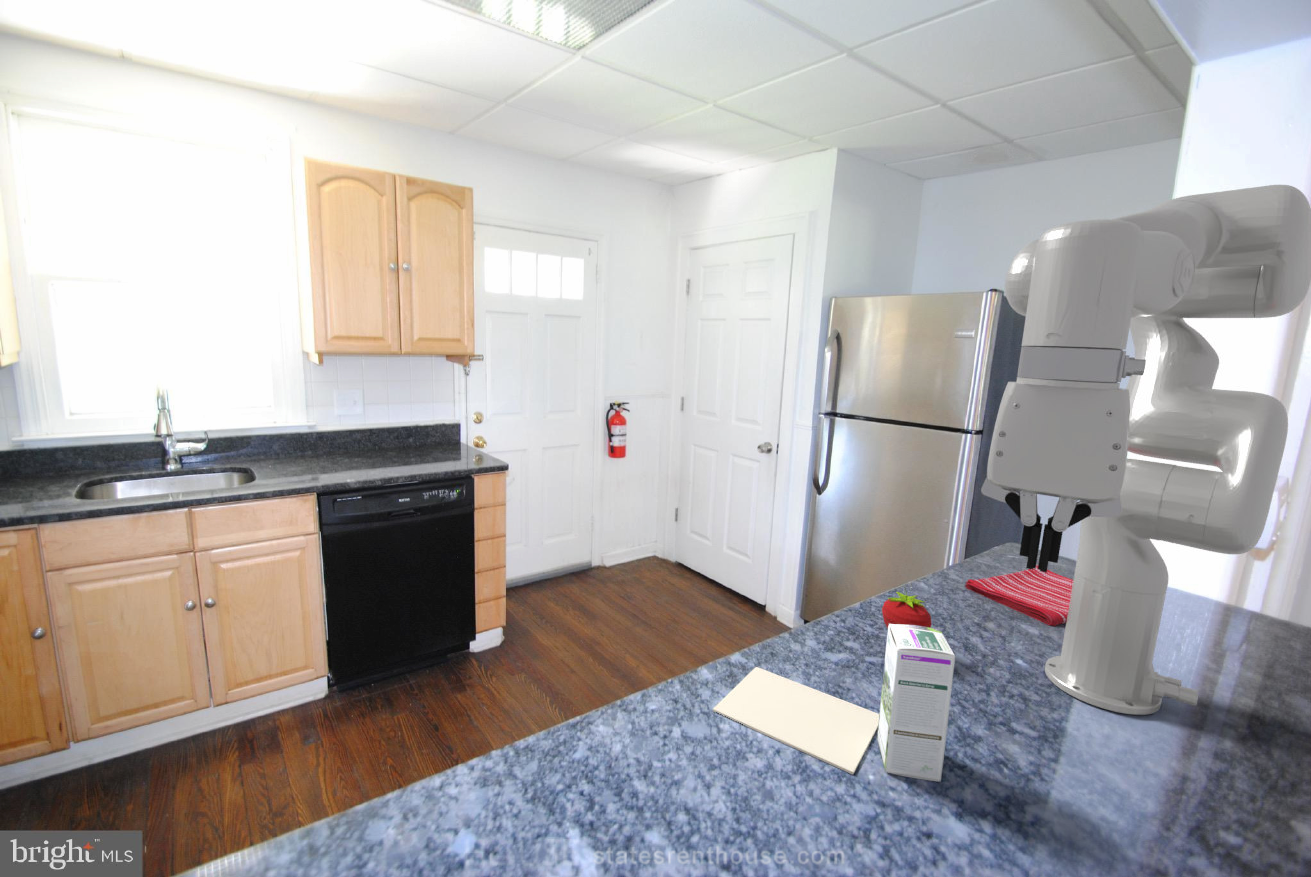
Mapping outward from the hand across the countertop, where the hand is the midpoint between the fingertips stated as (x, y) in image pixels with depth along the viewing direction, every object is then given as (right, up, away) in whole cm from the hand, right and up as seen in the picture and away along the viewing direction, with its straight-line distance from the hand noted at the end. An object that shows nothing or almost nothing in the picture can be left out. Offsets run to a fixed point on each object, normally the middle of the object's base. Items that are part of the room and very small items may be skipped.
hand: (1037, 565), depth 54 cm
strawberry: (+1, -20, +33) cm, 38 cm away
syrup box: (-8, -24, +9) cm, 27 cm away
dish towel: (+37, -19, +55) cm, 69 cm away
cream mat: (-18, -22, +16) cm, 33 cm away
